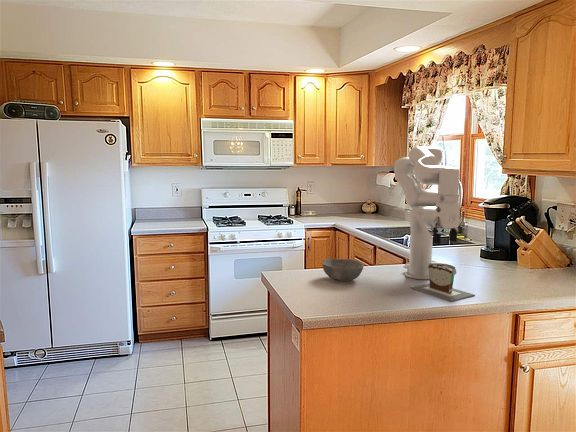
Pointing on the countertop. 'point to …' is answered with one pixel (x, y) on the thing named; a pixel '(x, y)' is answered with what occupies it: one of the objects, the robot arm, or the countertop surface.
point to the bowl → (342, 269)
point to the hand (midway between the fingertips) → (444, 242)
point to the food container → (441, 277)
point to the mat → (450, 297)
